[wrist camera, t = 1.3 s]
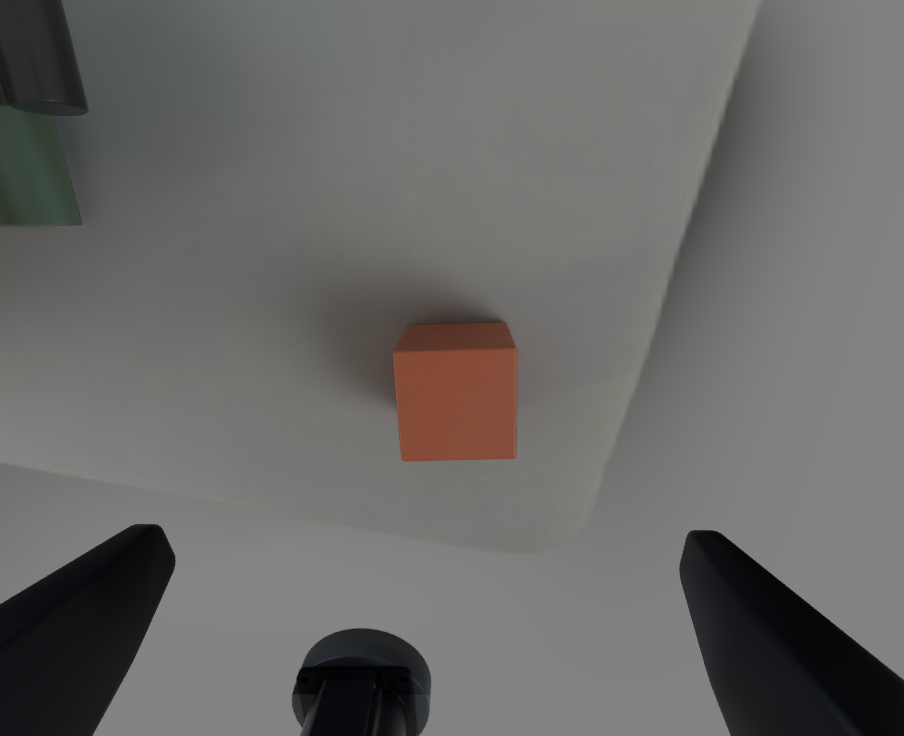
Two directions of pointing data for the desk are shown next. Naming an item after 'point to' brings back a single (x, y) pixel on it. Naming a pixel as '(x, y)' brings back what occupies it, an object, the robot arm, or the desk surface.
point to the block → (456, 392)
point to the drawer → (36, 114)
